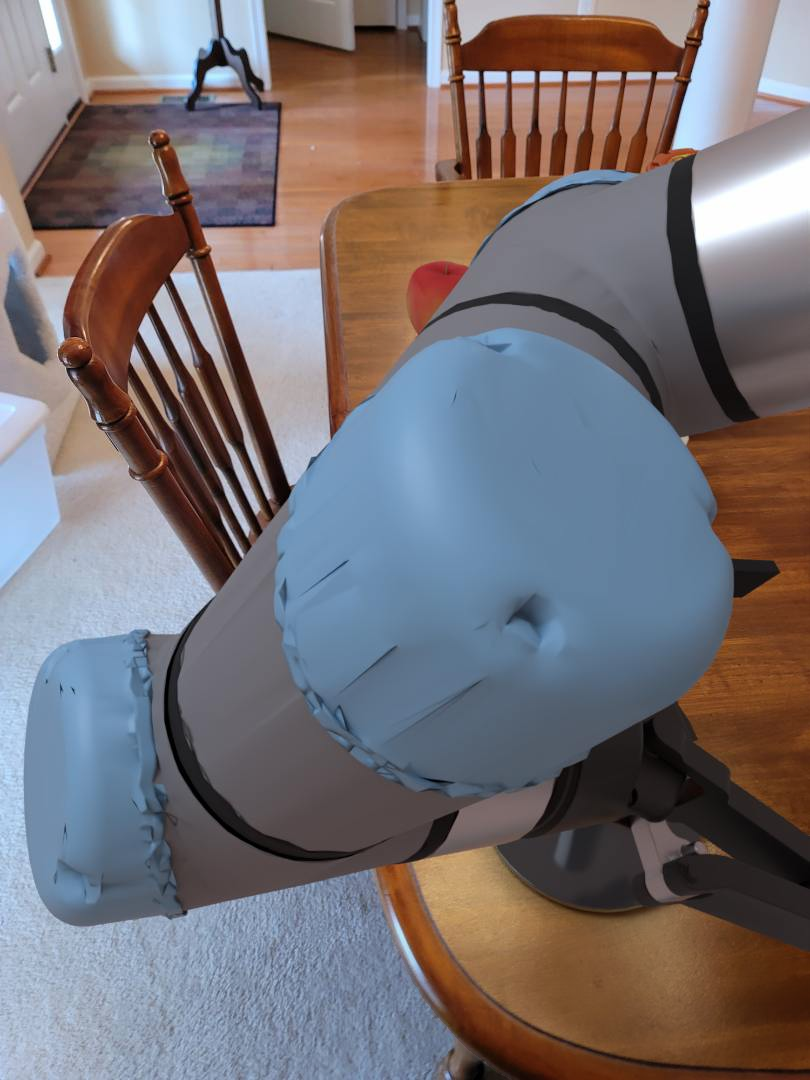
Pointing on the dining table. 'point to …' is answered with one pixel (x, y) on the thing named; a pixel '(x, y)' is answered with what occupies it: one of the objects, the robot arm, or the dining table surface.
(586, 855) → the lid
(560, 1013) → the dining table surface
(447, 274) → the apple
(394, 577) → the robot arm
